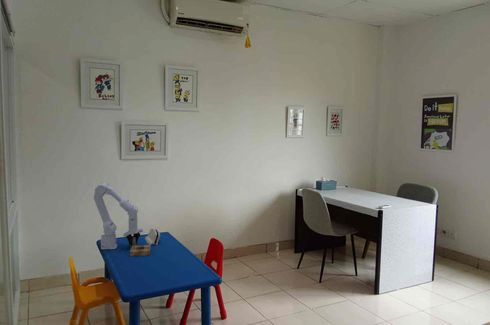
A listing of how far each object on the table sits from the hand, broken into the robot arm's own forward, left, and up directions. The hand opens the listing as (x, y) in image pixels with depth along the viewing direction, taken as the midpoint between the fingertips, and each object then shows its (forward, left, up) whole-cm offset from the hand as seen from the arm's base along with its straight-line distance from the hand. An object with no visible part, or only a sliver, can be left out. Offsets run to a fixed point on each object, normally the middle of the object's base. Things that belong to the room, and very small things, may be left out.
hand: (133, 244), depth 256 cm
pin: (0, 0, -2) cm, 2 cm away
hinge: (+12, +11, -2) cm, 17 cm away
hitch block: (+6, -12, -2) cm, 14 cm away
